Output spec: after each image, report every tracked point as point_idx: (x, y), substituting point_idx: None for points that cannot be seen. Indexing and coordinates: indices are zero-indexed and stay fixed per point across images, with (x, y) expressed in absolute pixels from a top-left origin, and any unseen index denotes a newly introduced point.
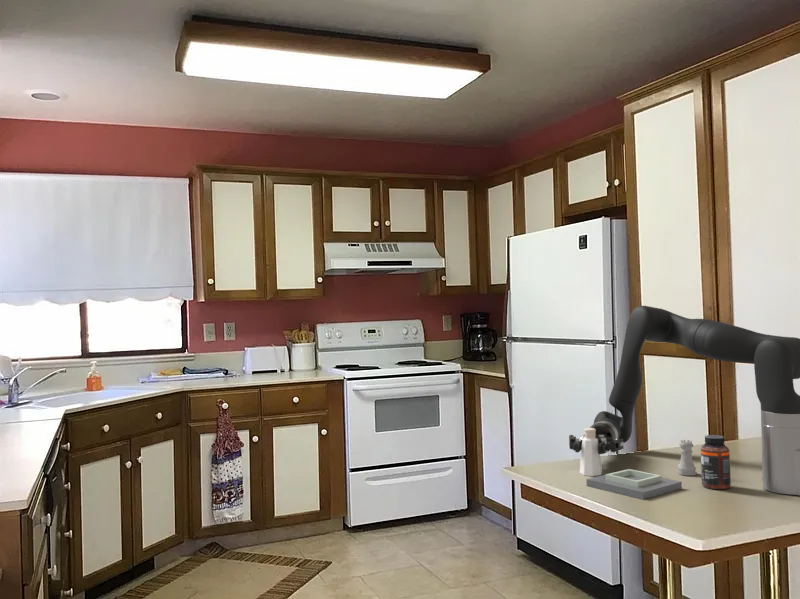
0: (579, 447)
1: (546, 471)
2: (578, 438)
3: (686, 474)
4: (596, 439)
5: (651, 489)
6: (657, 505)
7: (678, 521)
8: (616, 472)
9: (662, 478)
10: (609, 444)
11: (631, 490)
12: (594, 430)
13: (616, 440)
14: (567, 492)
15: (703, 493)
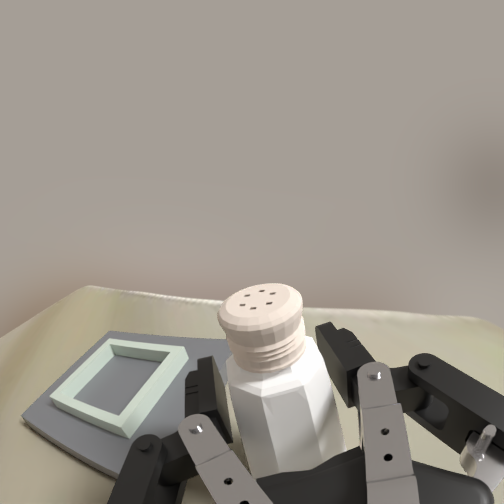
0: (331, 366)
1: None
2: (492, 482)
3: None
4: (229, 366)
5: (91, 348)
6: (98, 331)
7: (88, 304)
8: (157, 376)
9: (49, 427)
10: (170, 436)
11: (128, 334)
12: (220, 307)
13: (126, 491)
14: None
15: (8, 410)
